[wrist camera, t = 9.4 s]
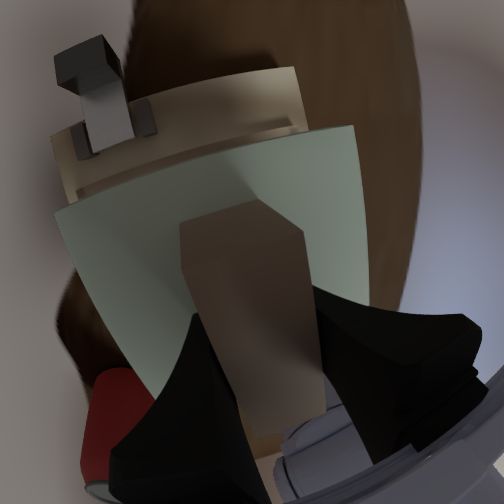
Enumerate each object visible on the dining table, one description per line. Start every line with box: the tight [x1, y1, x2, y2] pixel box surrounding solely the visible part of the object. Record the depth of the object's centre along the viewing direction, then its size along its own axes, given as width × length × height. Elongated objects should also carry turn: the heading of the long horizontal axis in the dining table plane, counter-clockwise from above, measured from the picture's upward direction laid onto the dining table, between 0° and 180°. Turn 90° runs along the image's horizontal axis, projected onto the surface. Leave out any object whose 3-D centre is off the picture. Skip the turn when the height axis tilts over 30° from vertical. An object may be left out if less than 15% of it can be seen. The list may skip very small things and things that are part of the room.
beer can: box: [80, 367, 155, 504], centre depth 18 cm, size 7×7×12 cm
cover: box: [54, 125, 369, 439], centre depth 11 cm, size 12×12×5 cm
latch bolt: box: [54, 34, 137, 153], centre depth 11 cm, size 5×2×4 cm, turn 13°
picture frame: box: [50, 67, 309, 204], centre depth 18 cm, size 18×16×4 cm
